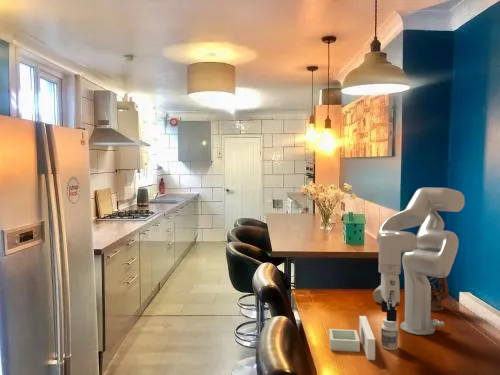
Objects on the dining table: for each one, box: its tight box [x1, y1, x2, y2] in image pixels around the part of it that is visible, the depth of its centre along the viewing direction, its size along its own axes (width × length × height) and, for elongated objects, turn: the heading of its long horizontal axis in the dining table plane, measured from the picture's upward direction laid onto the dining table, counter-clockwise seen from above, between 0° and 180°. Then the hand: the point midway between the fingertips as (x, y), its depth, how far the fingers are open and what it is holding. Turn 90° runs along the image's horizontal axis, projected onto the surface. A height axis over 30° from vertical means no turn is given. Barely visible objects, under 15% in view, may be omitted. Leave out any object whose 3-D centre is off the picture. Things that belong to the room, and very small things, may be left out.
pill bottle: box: [380, 317, 399, 351], centre depth 146 cm, size 6×6×10 cm
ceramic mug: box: [372, 284, 398, 305], centre depth 195 cm, size 11×8×8 cm
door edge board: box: [358, 315, 376, 361], centre depth 148 cm, size 3×22×7 cm, turn 172°
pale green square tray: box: [328, 328, 361, 353], centre depth 149 cm, size 10×10×4 cm
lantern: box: [427, 277, 450, 312], centre depth 189 cm, size 17×13×30 cm
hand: (388, 316), depth 146 cm, fingers open, 9 cm apart
